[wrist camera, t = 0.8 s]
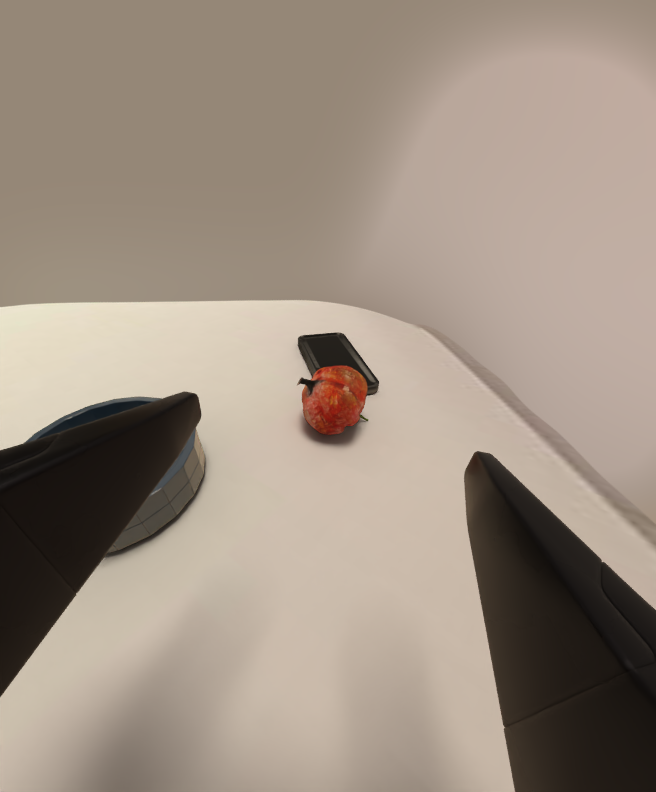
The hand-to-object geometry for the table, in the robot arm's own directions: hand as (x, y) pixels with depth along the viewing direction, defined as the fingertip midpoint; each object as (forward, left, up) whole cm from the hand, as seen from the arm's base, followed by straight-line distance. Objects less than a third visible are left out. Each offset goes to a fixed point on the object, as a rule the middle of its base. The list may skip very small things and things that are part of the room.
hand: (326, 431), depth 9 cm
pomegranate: (+17, +4, -17) cm, 24 cm away
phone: (+28, +8, -16) cm, 33 cm away
